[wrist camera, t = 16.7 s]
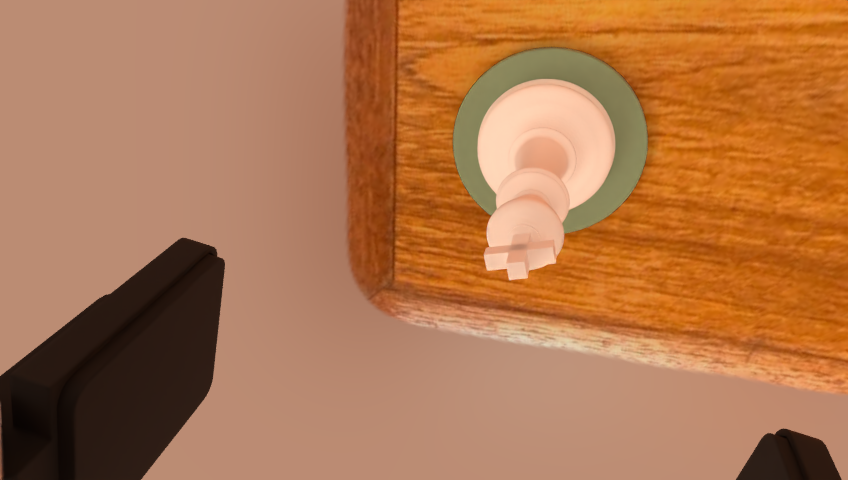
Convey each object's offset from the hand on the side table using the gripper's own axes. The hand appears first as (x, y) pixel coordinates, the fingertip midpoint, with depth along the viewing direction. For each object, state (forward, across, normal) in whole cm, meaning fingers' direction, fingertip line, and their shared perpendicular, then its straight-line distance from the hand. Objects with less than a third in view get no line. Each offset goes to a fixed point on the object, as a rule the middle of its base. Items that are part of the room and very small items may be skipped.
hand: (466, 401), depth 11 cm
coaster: (+16, -1, 0) cm, 16 cm away
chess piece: (+15, -1, 0) cm, 15 cm away
